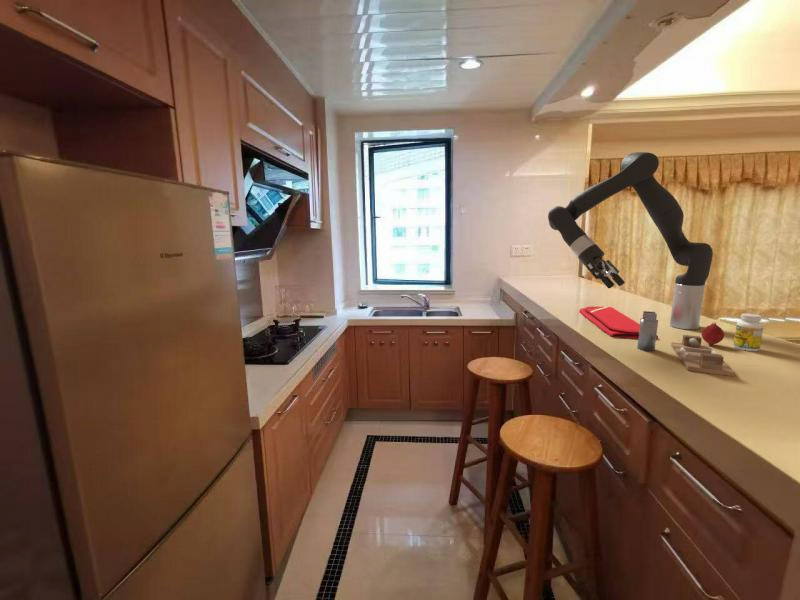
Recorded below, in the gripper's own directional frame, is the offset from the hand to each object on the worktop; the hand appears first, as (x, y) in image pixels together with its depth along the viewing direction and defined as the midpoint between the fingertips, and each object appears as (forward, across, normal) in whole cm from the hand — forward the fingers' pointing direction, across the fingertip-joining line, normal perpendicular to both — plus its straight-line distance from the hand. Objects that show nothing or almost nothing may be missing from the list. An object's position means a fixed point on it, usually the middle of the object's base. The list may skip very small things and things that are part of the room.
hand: (617, 285), depth 126 cm
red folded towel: (+8, +26, +21) cm, 34 cm away
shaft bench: (+32, +1, -3) cm, 32 cm away
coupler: (+22, 0, +6) cm, 23 cm away
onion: (+31, +20, -3) cm, 37 cm away
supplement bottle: (+36, +24, -9) cm, 44 cm away
